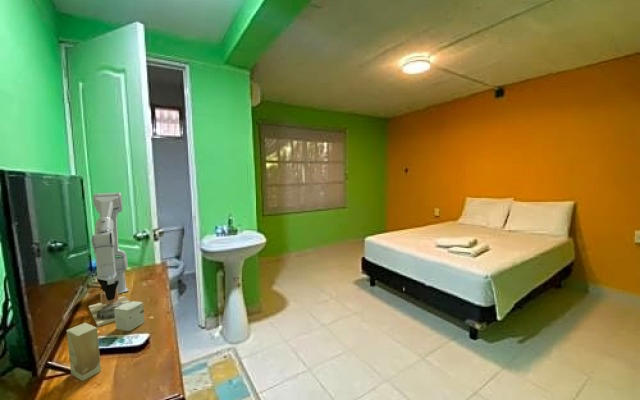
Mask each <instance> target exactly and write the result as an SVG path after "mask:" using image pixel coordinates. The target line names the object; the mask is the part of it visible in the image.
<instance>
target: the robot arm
mask: <svg viewBox="0 0 640 400" xmlns="http://www.w3.org/2000/svg"><path fill="white" fill-rule="evenodd" d="M92 201H93V206H94V207H95V208H94V209H95V210H96V211H97V213H98V214H99V218H98V219H97V220H96V221H95V228H94V234H93V235H91V246H92V249H93V253H94V255H95V263H96V264H95V265H96V270H97V271H96V273H97V275H96V276H93V280H96V281H97V282H98V283H99V285H100V287H101V290H102V292H103V291H104V292H105V295H106V298H107V300H108V301H109V300H113V299H114V298H115V293H116V289H117V290H118V295H119V294H123V293H127V292H129V291H130V290H129V288H127V284H126V276H125V275H126V274H125V271H127V269H128V267H129V266H128V257H127V252H126V251H123V250H122V249H119V246H120V245H119V232H118V214H119V213H121V212H123V207H124V206H123V195H122V193H121V192H103V193H102V192H101V193H94V194H92Z"/></svg>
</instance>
